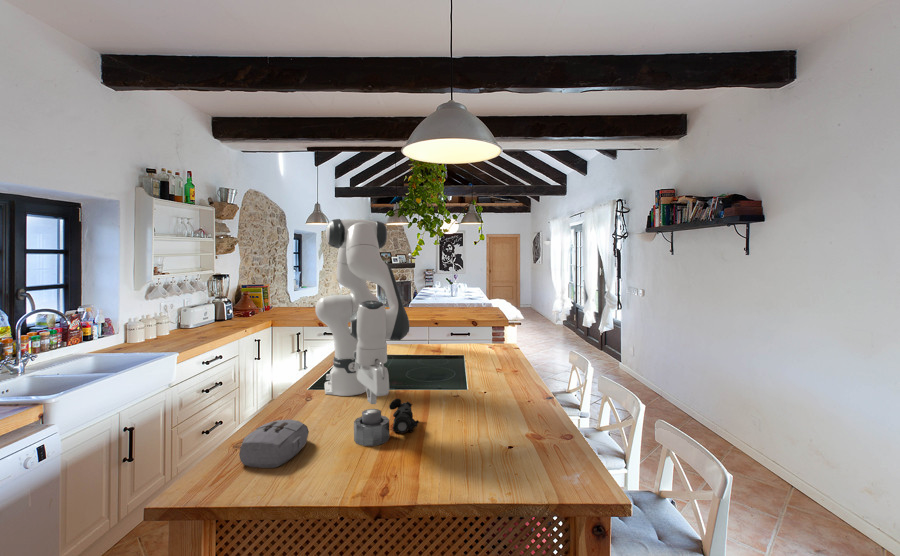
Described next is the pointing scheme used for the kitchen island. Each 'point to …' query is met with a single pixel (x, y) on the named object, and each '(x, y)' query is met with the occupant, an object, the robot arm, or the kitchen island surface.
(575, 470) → the kitchen island surface
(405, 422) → the night vision scope
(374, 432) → the grey faceted round container
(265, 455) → the grey rounded bag
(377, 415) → the white-tipped grey cylinder
